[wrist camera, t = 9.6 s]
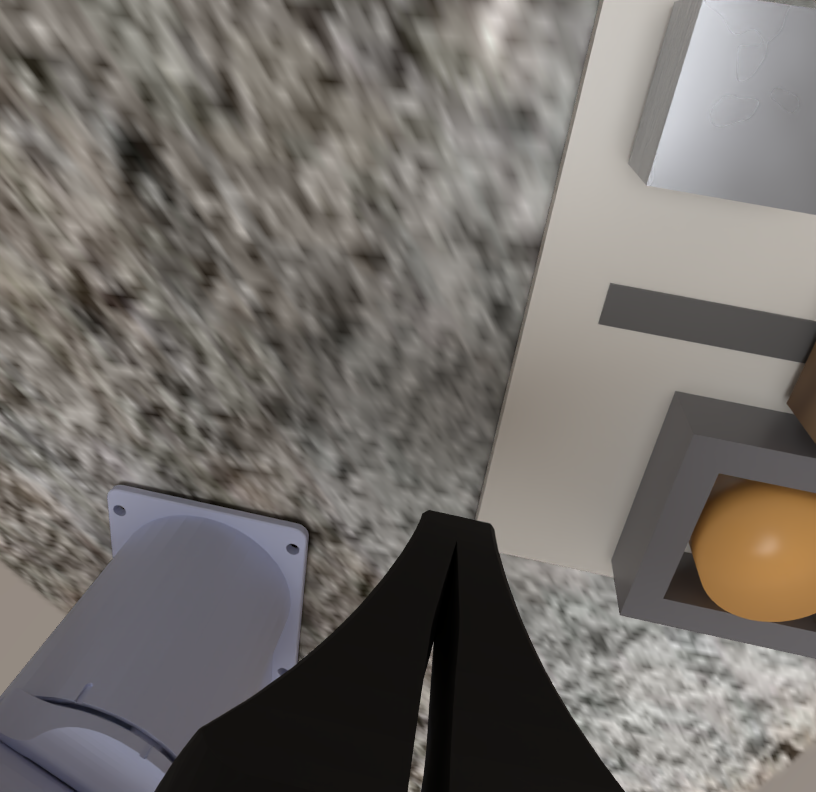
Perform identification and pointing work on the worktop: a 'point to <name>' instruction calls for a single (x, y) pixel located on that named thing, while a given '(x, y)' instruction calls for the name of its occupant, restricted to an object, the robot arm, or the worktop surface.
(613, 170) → the panel
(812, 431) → the small cardboard carton
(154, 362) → the worktop surface
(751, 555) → the orange button
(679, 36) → the grey slider
